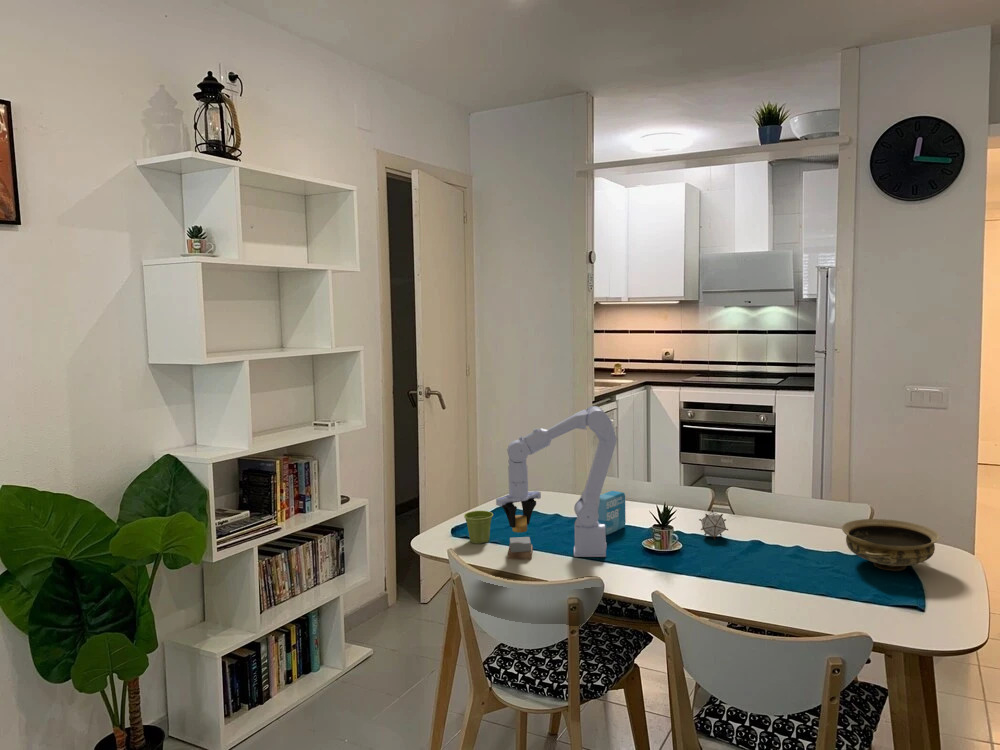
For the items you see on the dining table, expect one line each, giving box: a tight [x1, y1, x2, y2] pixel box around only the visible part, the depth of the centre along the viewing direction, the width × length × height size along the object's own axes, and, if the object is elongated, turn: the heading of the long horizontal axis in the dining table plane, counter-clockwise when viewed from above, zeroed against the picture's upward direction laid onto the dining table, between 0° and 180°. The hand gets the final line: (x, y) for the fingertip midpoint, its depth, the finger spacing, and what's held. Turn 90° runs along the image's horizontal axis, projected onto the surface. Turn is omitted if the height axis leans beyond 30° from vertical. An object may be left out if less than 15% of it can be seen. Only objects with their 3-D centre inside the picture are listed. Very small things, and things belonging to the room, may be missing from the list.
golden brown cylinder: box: [511, 514, 528, 533], centre depth 226 cm, size 4×4×4 cm
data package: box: [598, 490, 626, 536], centre depth 248 cm, size 12×4×12 cm, turn 138°
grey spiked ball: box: [698, 509, 729, 540], centre depth 238 cm, size 9×8×10 cm
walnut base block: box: [507, 544, 534, 560], centre depth 228 cm, size 7×7×2 cm
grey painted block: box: [509, 536, 532, 552], centre depth 227 cm, size 6×6×2 cm
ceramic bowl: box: [841, 518, 940, 572], centre depth 209 cm, size 30×24×10 cm
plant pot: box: [463, 510, 494, 545], centre depth 241 cm, size 9×9×9 cm
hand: (519, 525), depth 227 cm, fingers closed on golden brown cylinder, 4 cm apart
